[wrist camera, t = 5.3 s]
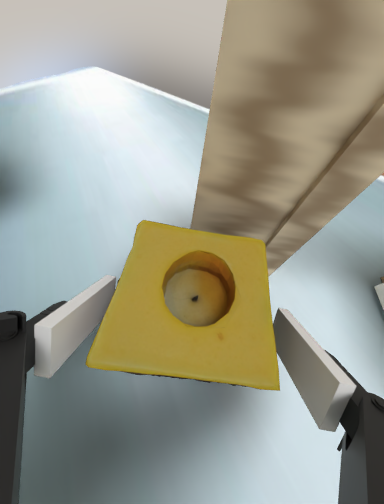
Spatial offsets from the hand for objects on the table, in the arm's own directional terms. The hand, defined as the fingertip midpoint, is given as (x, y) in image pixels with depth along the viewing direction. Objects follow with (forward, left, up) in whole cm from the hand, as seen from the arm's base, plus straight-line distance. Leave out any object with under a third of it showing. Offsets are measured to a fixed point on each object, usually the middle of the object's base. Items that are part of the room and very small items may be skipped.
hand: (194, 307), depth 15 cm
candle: (0, 0, -6) cm, 6 cm away
